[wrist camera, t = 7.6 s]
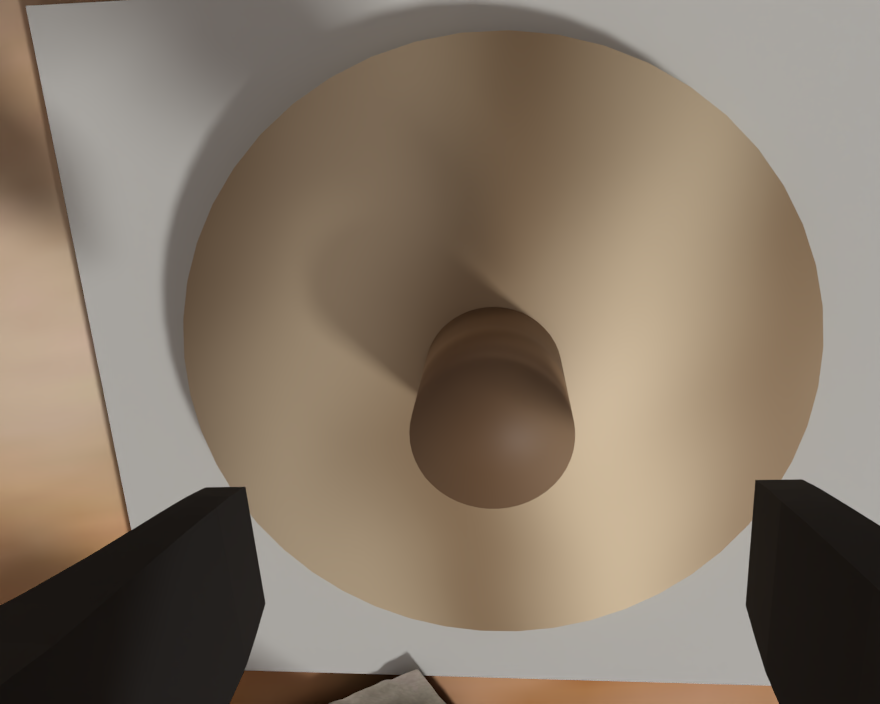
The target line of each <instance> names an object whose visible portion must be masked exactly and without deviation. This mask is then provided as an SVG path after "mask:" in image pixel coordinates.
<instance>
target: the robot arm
mask: <svg viewBox="0 0 880 704" xmlns="http://www.w3.org/2000/svg"><path fill="white" fill-rule="evenodd" d="M264 607H265V598H264V592H263V586H262V580H261V575H260V569H259V563H258V557H257V551H256V545H255V539H254V534H253V528H252V522H251V516H250V510H249V504H248V499H247V493H246V487H205V488H203V489H201V490H199V491H197V492H195V493H193V494H191V495H189V496H187V497H185V498H184V499H182V500H180V501H178V502H177V503H175V504H173V505H172V506H170V507H168V508H167V509H165V510H163V511H162V512H160V513H158V514H157V515H155V516H154V517H152V518H150V519H149V520H147V521H145V522H144V523H142V524H141V525H139V526H137V527H136V528H134V529H133V530H131V531H129V532H128V533H126V534H124V535H123V536H121V537H120V538H118V539H116V540H115V541H113V542H111V543H110V544H108V545H107V546H105V547H103V548H102V549H100V550H98V551H97V552H95V553H93V554H92V555H90V556H88V557H87V558H85V559H83V560H81V561H80V562H78V563H76V564H74V565H73V566H71V567H69V568H67V569H66V570H64V571H62V572H60V573H59V574H57V575H55V576H53V577H52V578H50V579H48V580H46V581H45V582H43V583H41V584H39V585H37V586H36V587H34V588H32V589H30V590H29V591H27V592H25V593H23V594H21V595H20V596H18V597H16V598H14V599H12V600H10V601H8V602H6V603H4V604H2V605H0V704H229V703H230V701H231V699H232V697H233V695H234V693H235V690H236V688H237V686H238V684H239V682H240V679H241V677H242V675H243V673H244V670H245V668H246V666H247V663H248V660H249V656H250V653H251V650H252V647H253V644H254V641H255V638H256V634H257V631H258V628H259V624H260V621H261V617H262V614H263V610H264ZM746 609H747V612H748V616H749V619H750V623H751V626H752V630H753V633H754V637H755V640H756V643H757V647H758V650H759V653H760V656H761V659H762V663H763V666H764V669H765V672H766V675H767V677H768V679H769V681H770V684H771V686H772V688H773V691H774V693H775V695H776V697H777V700H778V702H779V704H880V525H878V524H877V523H875V522H873V521H872V520H870V519H869V518H867V517H865V516H864V515H862V514H861V513H859V512H857V511H856V510H854V509H853V508H851V507H849V506H848V505H846V504H845V503H843V502H841V501H840V500H838V499H836V498H835V497H833V496H831V495H830V494H828V493H826V492H825V491H823V490H821V489H820V488H818V487H816V486H814V485H812V484H810V483H808V482H806V481H805V480H802V479H794V480H755V491H754V504H753V516H752V529H751V542H750V555H749V567H748V580H747V593H746Z"/></svg>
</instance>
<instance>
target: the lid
mask: <svg viewBox="0 0 880 704" xmlns="http://www.w3.org/2000/svg"><path fill="white" fill-rule="evenodd" d="M183 331H184V359H185V365H186V371H187V377H188V383H189V389H190V395H191V399H192V402H193V405H194V408H195V412H196V415H197V418H198V422H199V425H200V428H201V431H202V433H203V436H204V438H205V440H206V442H207V445H208V447H209V449H210V451H211V453H212V456H213V458H214V460H215V462H216V464H217V466H218V468H219V469H220V471H221V473H222V474H223V476H224V478H225V479H226V481H227V482H228V484H229V486H230V487H246V493H247V499H248V504H249V510H250V514H251V516H252V517H253V518H254V520H255V521H256V522H257V523H258V524H259V525H260V526H261V527H262V528H263V529H264V530H265V531H266V532H267V533H268V534H269V535H270V536H271V537H272V538H273V539H274V540H275V541H276V542H277V543H278V544H279V545H280V546H281V547H282V548H283V549H284V550H285V551H286V552H288V553H289V554H290V555H291V556H293V557H294V558H295V559H296V560H298V561H299V562H300V563H301V564H303V565H304V566H305V567H307V568H308V569H309V570H310V571H312V572H313V573H315V574H316V575H318V576H320V577H321V578H323V579H324V580H326V581H328V582H329V583H331V584H333V585H334V586H336V587H337V588H339V589H341V590H342V591H344V592H346V593H348V594H350V595H353V596H355V597H357V598H359V599H361V600H363V601H365V602H367V603H369V604H371V605H374V606H376V607H379V608H382V609H384V610H387V611H390V612H393V613H396V614H399V615H402V616H405V617H407V618H411V619H415V620H419V621H424V622H428V623H432V624H437V625H441V626H446V627H454V628H462V629H471V630H479V631H525V630H536V629H547V628H555V627H560V626H565V625H570V624H575V623H580V622H585V621H590V620H593V619H596V618H599V617H602V616H605V615H608V614H611V613H615V612H618V611H621V610H624V609H626V608H629V607H631V606H633V605H635V604H638V603H640V602H642V601H644V600H646V599H649V598H651V597H653V596H655V595H658V594H660V593H661V592H663V591H665V590H666V589H668V588H670V587H671V586H673V585H675V584H676V583H678V582H680V581H681V580H683V579H685V578H686V577H688V576H690V575H691V574H693V573H694V572H695V571H697V570H698V569H699V568H700V567H702V566H703V565H704V564H706V563H707V562H708V561H710V560H711V559H712V558H714V557H715V556H716V555H717V554H719V553H720V552H721V551H722V550H723V549H724V548H725V547H726V546H727V545H728V544H729V543H730V542H731V541H732V540H734V539H735V538H736V537H737V536H738V535H739V534H740V533H741V532H742V531H743V530H744V529H745V528H746V527H747V526H748V525H749V523H750V522H751V521H752V516H753V504H754V491H755V480H781V479H782V478H783V476H784V474H785V473H786V471H787V469H788V468H789V466H790V464H791V463H792V461H793V458H794V456H795V454H796V451H797V449H798V447H799V444H800V442H801V440H802V437H803V435H804V433H805V431H806V428H807V426H808V422H809V419H810V415H811V412H812V408H813V404H814V401H815V397H816V393H817V390H818V385H819V377H820V370H821V362H822V354H823V305H822V299H821V293H820V286H819V280H818V274H817V268H816V263H815V260H814V257H813V254H812V251H811V248H810V245H809V242H808V238H807V235H806V232H805V229H804V226H803V223H802V221H801V219H800V217H799V215H798V213H797V211H796V209H795V207H794V205H793V203H792V201H791V199H790V197H789V195H788V193H787V191H786V189H785V187H784V185H783V184H782V182H781V181H780V179H779V178H778V176H777V175H776V174H775V172H774V171H773V169H772V168H771V166H770V165H769V164H768V162H767V161H766V159H765V158H764V156H763V155H762V153H761V152H760V151H759V149H758V148H757V147H756V146H755V145H754V144H753V143H752V142H751V141H750V139H749V138H748V137H747V136H746V135H745V134H744V133H743V132H742V131H741V130H740V129H739V128H738V127H737V126H736V125H735V124H734V123H733V121H732V120H731V119H730V118H729V117H728V116H727V115H726V114H724V113H723V112H722V111H721V110H719V109H718V108H717V107H715V106H714V105H713V104H712V103H710V102H709V101H708V100H707V99H705V98H704V97H703V96H701V95H700V94H699V93H698V92H696V91H695V90H694V89H693V88H691V87H690V86H688V85H686V84H685V83H683V82H681V81H679V80H678V79H676V78H674V77H672V76H671V75H669V74H667V73H665V72H664V71H662V70H660V69H658V68H657V67H655V66H653V65H652V64H650V63H648V62H645V61H642V60H640V59H637V58H635V57H632V56H630V55H627V54H625V53H622V52H620V51H617V50H615V49H612V48H609V47H607V46H604V45H600V44H596V43H592V42H587V41H583V40H579V39H575V38H570V37H566V36H562V35H558V34H547V33H536V32H524V31H513V30H503V31H484V32H464V33H457V34H452V35H447V36H442V37H437V38H431V39H426V40H421V41H416V42H413V43H410V44H407V45H404V46H401V47H398V48H395V49H392V50H389V51H387V52H384V53H381V54H378V55H375V56H372V57H370V58H368V59H366V60H364V61H362V62H360V63H358V64H356V65H354V66H352V67H350V68H348V69H346V70H344V71H342V72H340V73H338V74H336V75H335V76H333V77H331V78H329V79H327V80H326V81H325V82H323V83H322V84H320V85H319V86H318V87H316V88H315V89H313V90H312V91H310V92H309V93H308V94H306V95H305V96H303V97H302V98H301V99H299V100H298V101H296V102H295V103H293V104H292V105H291V106H290V107H289V108H288V109H287V110H286V111H285V112H284V113H283V114H282V115H281V116H279V117H278V118H277V119H276V120H275V121H274V122H273V123H272V124H271V125H270V126H269V127H268V128H267V129H266V130H265V131H264V132H263V133H261V134H260V136H259V137H258V138H257V139H256V141H255V142H254V143H253V144H252V146H251V147H250V148H249V150H248V151H247V152H246V153H245V155H244V156H243V157H242V158H241V160H240V161H239V162H238V163H237V165H236V166H235V167H234V168H233V170H232V172H231V174H230V175H229V177H228V179H227V180H226V182H225V184H224V186H223V187H222V189H221V191H220V192H219V194H218V196H217V198H216V199H215V201H214V203H213V204H212V207H211V209H210V212H209V214H208V217H207V219H206V222H205V224H204V226H203V229H202V231H201V234H200V236H199V239H198V241H197V245H196V248H195V252H194V256H193V260H192V264H191V268H190V272H189V276H188V280H187V289H186V298H185V307H184V316H183Z"/></svg>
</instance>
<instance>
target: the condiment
mask: <svg viewBox="0 0 880 704" xmlns="http://www.w3.org/2000/svg"><path fill="white" fill-rule="evenodd" d="M329 704H446V703H445V702H444V701H443V700H442V699H441V698H440V697H439V696H438V694H437V693H436V692H435V690H434V689H433V687H432V686H431V685H430V684H429V682H428V681H427V680H426V679H425V677H424V676H423V675H422V674H421V673H420V671H419V670H418V669H416V670H413V671H410V672H408V673H405V674H403V675H400V676H398V677H396V678H394V679H392V680H383V681H381V682H379V683H377V684H376V685H373V686H371V687H368V688H365V689H363V690H361V691H358V692H356V693H354V694H352V695H350V696H348V697H346V698H344V699H341V700H336V701H334V702H331V703H329Z"/></svg>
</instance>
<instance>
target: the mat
mask: <svg viewBox="0 0 880 704" xmlns="http://www.w3.org/2000/svg"><path fill="white" fill-rule="evenodd" d="M26 11H27V16H28V20H29V25H30V30H31V35H32V40H33V45H34V50H35V55H36V60H37V65H38V70H39V75H40V80H41V85H42V90H43V95H44V100H45V105H46V110H47V115H48V120H49V125H50V130H51V134H52V139H53V144H54V149H55V154H56V159H57V164H58V169H59V174H60V179H61V184H62V189H63V194H64V199H65V204H66V209H67V214H68V219H69V224H70V229H71V234H72V239H73V244H74V249H75V253H76V258H77V263H78V268H79V273H80V278H81V283H82V288H83V293H84V298H85V303H86V308H87V313H88V318H89V323H90V328H91V333H92V338H93V343H94V348H95V353H96V358H97V363H98V367H99V372H100V377H101V382H102V387H103V392H104V397H105V402H106V407H107V412H108V417H109V422H110V427H111V432H112V437H113V442H114V447H115V452H116V457H117V462H118V467H119V472H120V477H121V482H122V486H123V491H124V496H125V501H126V506H127V511H128V516H129V521H130V526H131V530H133V529H134V528H136V527H137V526H139V525H141V524H142V523H144V522H145V521H147V520H149V519H150V518H152V517H154V516H155V515H157V514H158V513H160V512H162V511H163V510H165V509H167V508H168V507H170V506H172V505H173V504H175V503H177V502H178V501H180V500H182V499H184V498H185V497H187V496H189V495H191V494H193V493H195V492H197V491H199V490H201V489H203V488H205V487H230V486H229V484H228V482H227V481H226V479H225V478H224V476H223V474H222V473H221V471H220V469H219V468H218V466H217V464H216V462H215V460H214V458H213V456H212V453H211V451H210V449H209V447H208V445H207V442H206V440H205V438H204V436H203V433H202V431H201V428H200V425H199V422H198V418H197V415H196V412H195V408H194V405H193V402H192V399H191V395H190V389H189V383H188V377H187V371H186V365H185V359H184V331H183V316H184V307H185V298H186V289H187V280H188V276H189V272H190V268H191V264H192V260H193V256H194V252H195V248H196V245H197V241H198V239H199V236H200V234H201V231H202V229H203V226H204V224H205V222H206V219H207V217H208V214H209V212H210V209H211V207H212V204H213V203H214V201H215V199H216V198H217V196H218V194H219V192H220V191H221V189H222V187H223V186H224V184H225V182H226V180H227V179H228V177H229V175H230V174H231V172H232V170H233V168H234V167H235V166H236V165H237V163H238V162H239V161H240V160H241V158H242V157H243V156H244V155H245V153H246V152H247V151H248V150H249V148H250V147H251V146H252V144H253V143H254V142H255V141H256V139H257V138H258V137H259V136H260V134H261V133H263V132H264V131H265V130H266V129H267V128H268V127H269V126H270V125H271V124H272V123H273V122H274V121H275V120H276V119H277V118H278V117H279V116H281V115H282V114H283V113H284V112H285V111H286V110H287V109H288V108H289V107H290V106H291V105H292V104H293V103H295V102H296V101H298V100H299V99H301V98H302V97H303V96H305V95H306V94H308V93H309V92H310V91H312V90H313V89H315V88H316V87H318V86H319V85H320V84H322V83H323V82H325V81H326V80H327V79H329V78H331V77H333V76H335V75H336V74H338V73H340V72H342V71H344V70H346V69H348V68H350V67H352V66H354V65H356V64H358V63H360V62H362V61H364V60H366V59H368V58H370V57H372V56H375V55H378V54H381V53H384V52H387V51H389V50H392V49H395V48H398V47H401V46H404V45H407V44H410V43H413V42H416V41H421V40H426V39H431V38H437V37H442V36H447V35H452V34H457V33H464V32H484V31H503V30H513V31H524V32H536V33H547V34H558V35H562V36H566V37H570V38H575V39H579V40H583V41H587V42H592V43H596V44H600V45H604V46H607V47H609V48H612V49H615V50H617V51H620V52H622V53H625V54H627V55H630V56H632V57H635V58H637V59H640V60H642V61H645V62H648V63H650V64H652V65H653V66H655V67H657V68H658V69H660V70H662V71H664V72H665V73H667V74H669V75H671V76H672V77H674V78H676V79H678V80H679V81H681V82H683V83H685V84H686V85H688V86H690V87H691V88H693V89H694V90H695V91H696V92H698V93H699V94H700V95H701V96H703V97H704V98H705V99H707V100H708V101H709V102H710V103H712V104H713V105H714V106H715V107H717V108H718V109H719V110H721V111H722V112H723V113H724V114H726V115H727V116H728V117H729V118H730V119H731V120H732V121H733V123H734V124H735V125H736V126H737V127H738V128H739V129H740V130H741V131H742V132H743V133H744V134H745V135H746V136H747V137H748V138H749V139H750V141H751V142H752V143H753V144H754V145H755V146H756V147H757V148H758V149H759V151H760V152H761V153H762V155H763V156H764V158H765V159H766V161H767V162H768V164H769V165H770V166H771V168H772V169H773V171H774V172H775V174H776V175H777V176H778V178H779V179H780V181H781V182H782V184H783V185H784V187H785V189H786V191H787V193H788V195H789V197H790V199H791V201H792V203H793V205H794V207H795V209H796V211H797V213H798V215H799V217H800V219H801V221H802V223H803V226H804V229H805V232H806V235H807V238H808V242H809V245H810V248H811V251H812V254H813V257H814V260H815V263H816V268H817V274H818V280H819V286H820V293H821V299H822V305H823V354H822V362H821V370H820V377H819V385H818V390H817V393H816V397H815V401H814V404H813V408H812V412H811V415H810V419H809V422H808V426H807V428H806V431H805V433H804V435H803V437H802V440H801V442H800V444H799V447H798V449H797V451H796V454H795V456H794V458H793V461H792V463H791V464H790V466H789V468H788V469H787V471H786V473H785V474H784V476H783V478H782V479H781V480H794V479H802V480H805V481H806V482H808V483H810V484H812V485H814V486H816V487H818V488H820V489H821V490H823V491H825V492H826V493H828V494H830V495H831V496H833V497H835V498H836V499H838V500H840V501H841V502H843V503H845V504H846V505H848V506H849V507H851V508H853V509H854V510H856V511H857V512H859V513H861V514H862V515H864V516H865V517H867V518H869V519H870V520H872V521H873V522H875V523H877V524H878V525H880V0H122V1H104V2H86V3H68V4H51V5H33V6H26ZM250 516H251V514H250ZM251 522H252V528H253V534H254V539H255V545H256V551H257V557H258V563H259V569H260V575H261V580H262V586H263V592H264V598H265V607H264V610H263V614H262V617H261V621H260V624H259V628H258V631H257V634H256V638H255V641H254V644H253V647H252V650H251V653H250V656H249V660H248V663H247V666H246V668H245V670H250V671H284V672H319V673H353V674H388V675H403V674H405V673H408V672H410V671H413V670H416V669H418V670H419V671H420V673H421V674H422V675H423V676H457V677H491V678H526V679H560V680H595V681H629V682H664V683H698V684H733V685H767V686H771V684H770V681H769V679H768V677H767V675H766V672H765V669H764V666H763V663H762V659H761V656H760V653H759V650H758V647H757V643H756V640H755V637H754V633H753V630H752V626H751V623H750V619H749V616H748V612H747V609H746V593H747V580H748V567H749V555H750V542H751V529H752V521H751V522H750V523H749V525H748V526H747V527H746V528H745V529H744V530H743V531H742V532H741V533H740V534H739V535H738V536H737V537H736V538H735V539H734V540H732V541H731V542H730V543H729V544H728V545H727V546H726V547H725V548H724V549H723V550H722V551H721V552H720V553H719V554H717V555H716V556H715V557H714V558H712V559H711V560H710V561H708V562H707V563H706V564H704V565H703V566H702V567H700V568H699V569H698V570H697V571H695V572H694V573H693V574H691V575H690V576H688V577H686V578H685V579H683V580H681V581H680V582H678V583H676V584H675V585H673V586H671V587H670V588H668V589H666V590H665V591H663V592H661V593H660V594H658V595H655V596H653V597H651V598H649V599H646V600H644V601H642V602H640V603H638V604H635V605H633V606H631V607H629V608H626V609H624V610H621V611H618V612H615V613H611V614H608V615H605V616H602V617H599V618H596V619H593V620H590V621H585V622H580V623H575V624H570V625H565V626H560V627H555V628H547V629H536V630H525V631H479V630H471V629H462V628H454V627H446V626H441V625H437V624H432V623H428V622H424V621H419V620H415V619H411V618H407V617H405V616H402V615H399V614H396V613H393V612H390V611H387V610H384V609H382V608H379V607H376V606H374V605H371V604H369V603H367V602H365V601H363V600H361V599H359V598H357V597H355V596H353V595H350V594H348V593H346V592H344V591H342V590H341V589H339V588H337V587H336V586H334V585H333V584H331V583H329V582H328V581H326V580H324V579H323V578H321V577H320V576H318V575H316V574H315V573H313V572H312V571H310V570H309V569H308V568H307V567H305V566H304V565H303V564H301V563H300V562H299V561H298V560H296V559H295V558H294V557H293V556H291V555H290V554H289V553H288V552H286V551H285V550H284V549H283V548H282V547H281V546H280V545H279V544H278V543H277V542H276V541H275V540H274V539H273V538H272V537H271V536H270V535H269V534H268V533H267V532H266V531H265V530H264V529H263V528H262V527H261V526H260V525H259V524H258V523H257V522H256V521H255V520H254V518H253V517H252V516H251Z"/></svg>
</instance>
